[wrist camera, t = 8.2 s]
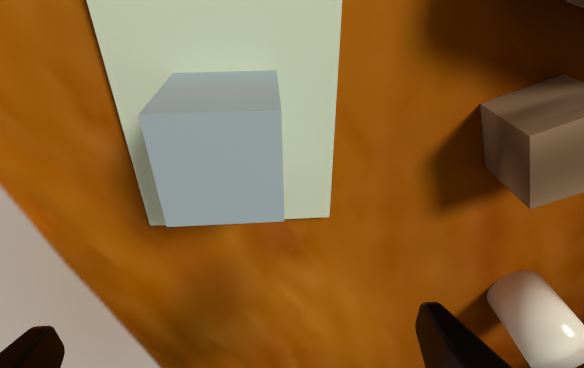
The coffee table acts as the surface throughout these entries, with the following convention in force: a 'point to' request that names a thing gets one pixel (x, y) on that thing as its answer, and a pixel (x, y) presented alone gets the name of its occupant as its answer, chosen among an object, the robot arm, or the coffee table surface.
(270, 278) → the coffee table surface
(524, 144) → the walnut cube
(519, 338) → the ivory rounded cylinder
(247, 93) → the slate-blue block
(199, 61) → the felt mat
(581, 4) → the stone block
